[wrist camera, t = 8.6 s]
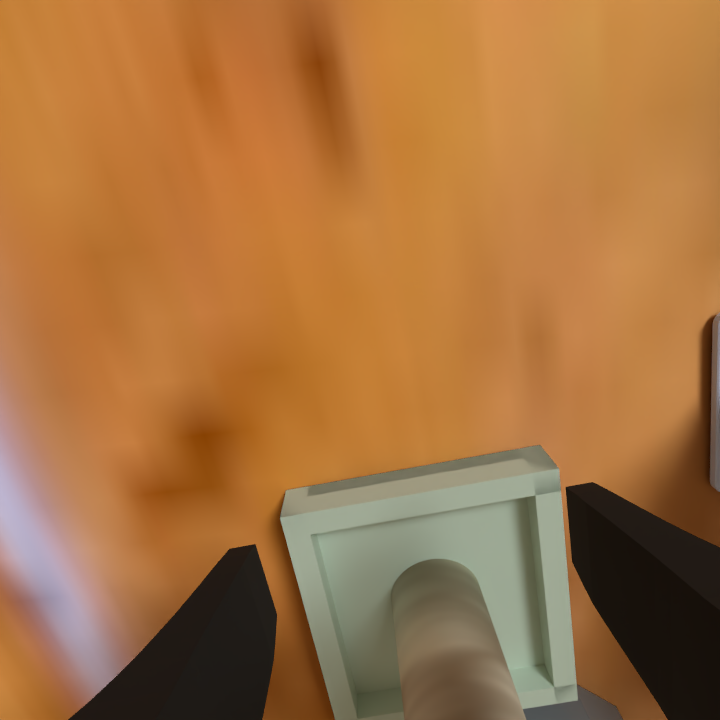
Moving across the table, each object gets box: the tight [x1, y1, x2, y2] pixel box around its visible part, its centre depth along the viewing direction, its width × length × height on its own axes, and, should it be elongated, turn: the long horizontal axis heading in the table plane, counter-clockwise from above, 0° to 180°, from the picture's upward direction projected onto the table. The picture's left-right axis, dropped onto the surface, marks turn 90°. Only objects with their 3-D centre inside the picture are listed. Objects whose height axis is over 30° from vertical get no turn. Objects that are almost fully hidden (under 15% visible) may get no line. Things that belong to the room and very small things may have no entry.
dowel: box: [391, 559, 526, 720], centre depth 18 cm, size 4×4×9 cm
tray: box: [280, 445, 578, 720], centre depth 22 cm, size 11×12×2 cm
